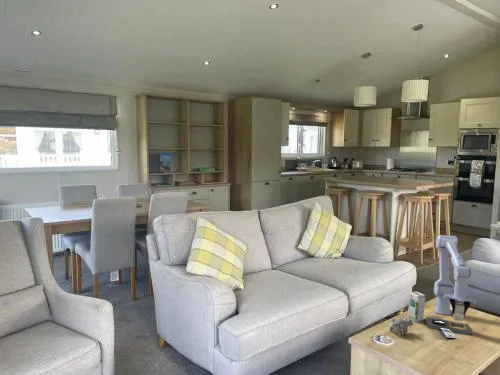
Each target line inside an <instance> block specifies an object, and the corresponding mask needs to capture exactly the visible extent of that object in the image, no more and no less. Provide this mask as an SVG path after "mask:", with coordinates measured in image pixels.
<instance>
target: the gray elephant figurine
mask: <svg viewBox="0 0 500 375" xmlns="http://www.w3.org/2000/svg"><path fill="white" fill-rule="evenodd" d="M391 323H392V324H391V325H390V327H389V332H392V331H395V332H397V337H398V338H401V337H402V334H401V331H402V332H403V333H404V336H408V335H409V333H408V328H409V327H412V326H414V323H413V320H411V319H407V318H406V317H404V316H402V315H400V318H399V319H395V318H393V319H391Z"/></svg>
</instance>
